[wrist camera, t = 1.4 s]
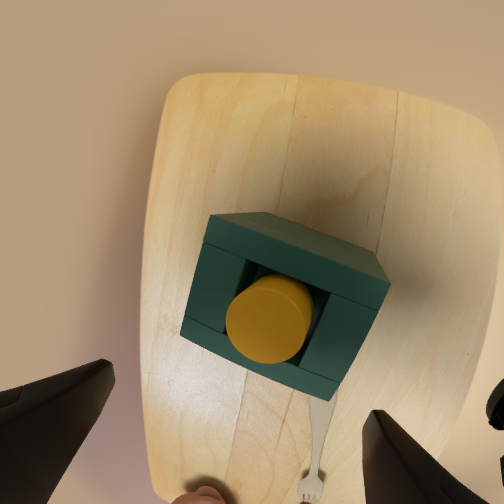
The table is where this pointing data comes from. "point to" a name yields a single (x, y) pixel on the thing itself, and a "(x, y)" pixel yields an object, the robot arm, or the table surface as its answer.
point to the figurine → (201, 497)
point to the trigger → (270, 319)
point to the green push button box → (301, 268)
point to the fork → (316, 445)
